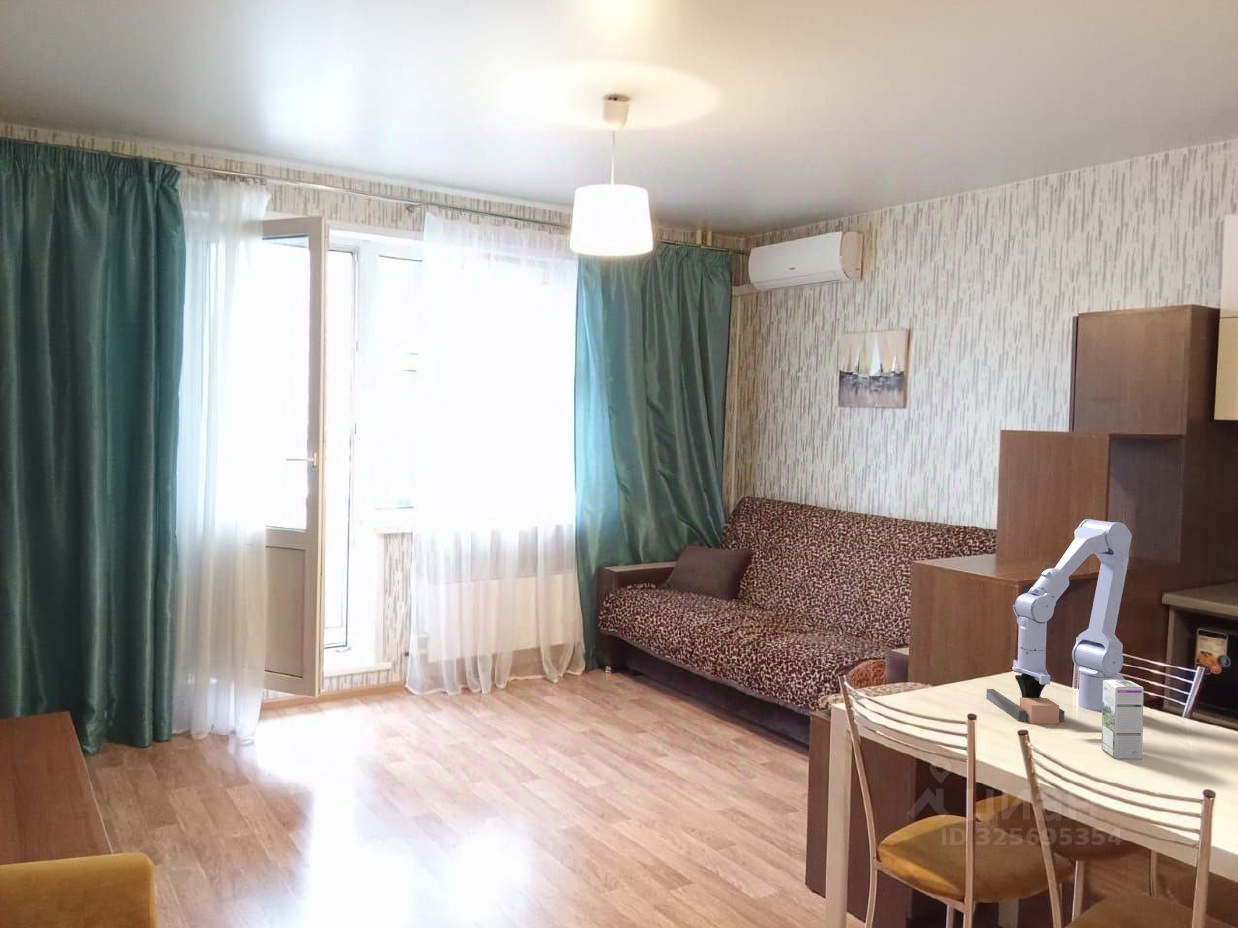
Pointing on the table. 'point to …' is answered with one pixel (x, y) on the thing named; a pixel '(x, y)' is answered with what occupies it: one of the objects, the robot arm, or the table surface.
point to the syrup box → (1122, 719)
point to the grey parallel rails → (1012, 706)
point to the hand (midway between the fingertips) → (1030, 708)
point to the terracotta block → (1040, 710)
